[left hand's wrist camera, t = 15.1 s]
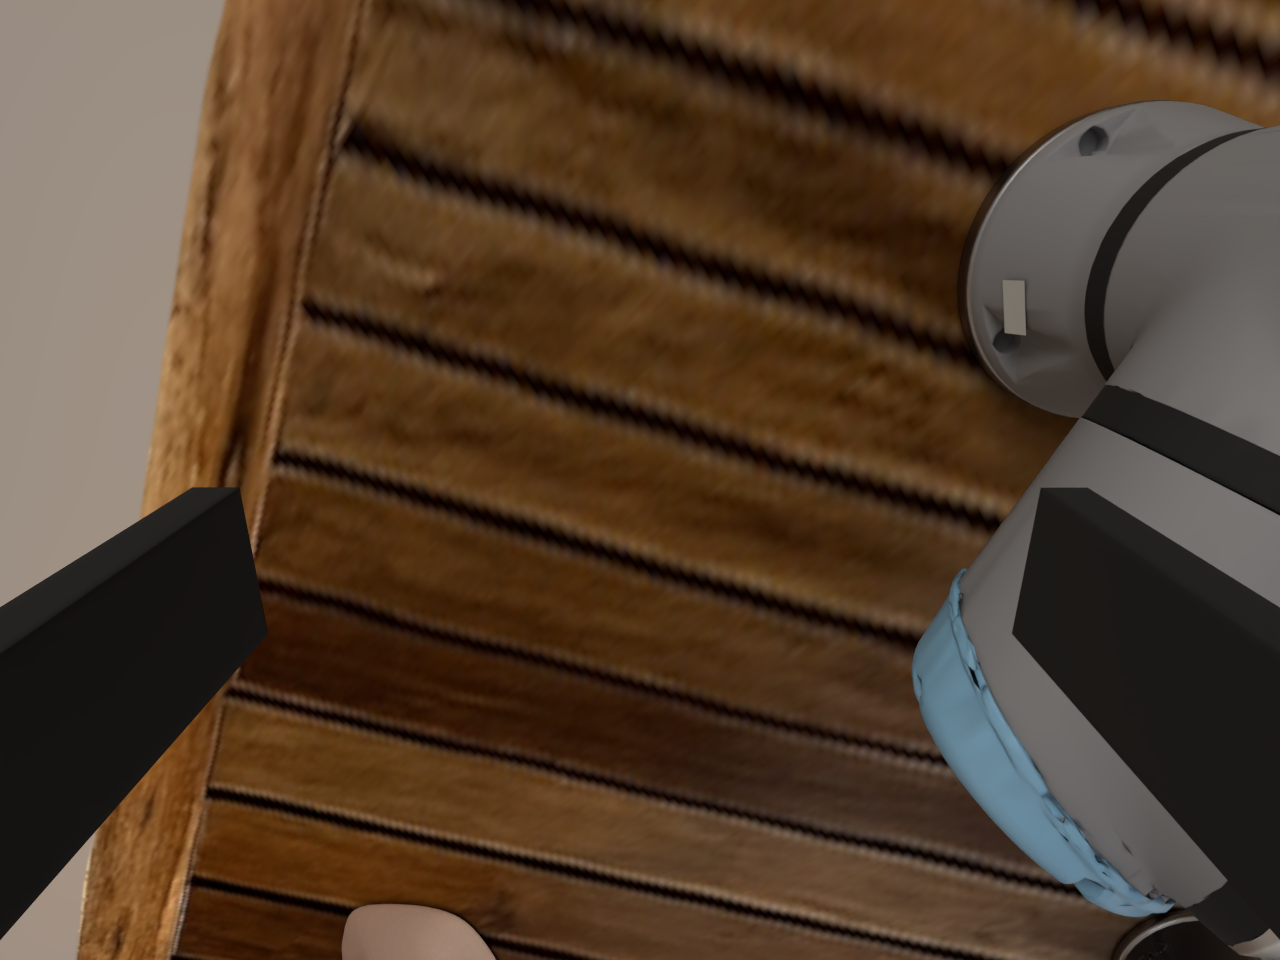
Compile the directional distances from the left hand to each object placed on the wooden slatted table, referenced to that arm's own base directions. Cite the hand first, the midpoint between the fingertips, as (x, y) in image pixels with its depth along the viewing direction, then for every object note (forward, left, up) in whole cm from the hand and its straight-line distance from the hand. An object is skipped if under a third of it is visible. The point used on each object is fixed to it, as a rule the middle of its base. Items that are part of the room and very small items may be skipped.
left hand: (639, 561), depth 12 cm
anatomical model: (+3, +50, -29) cm, 58 cm away
